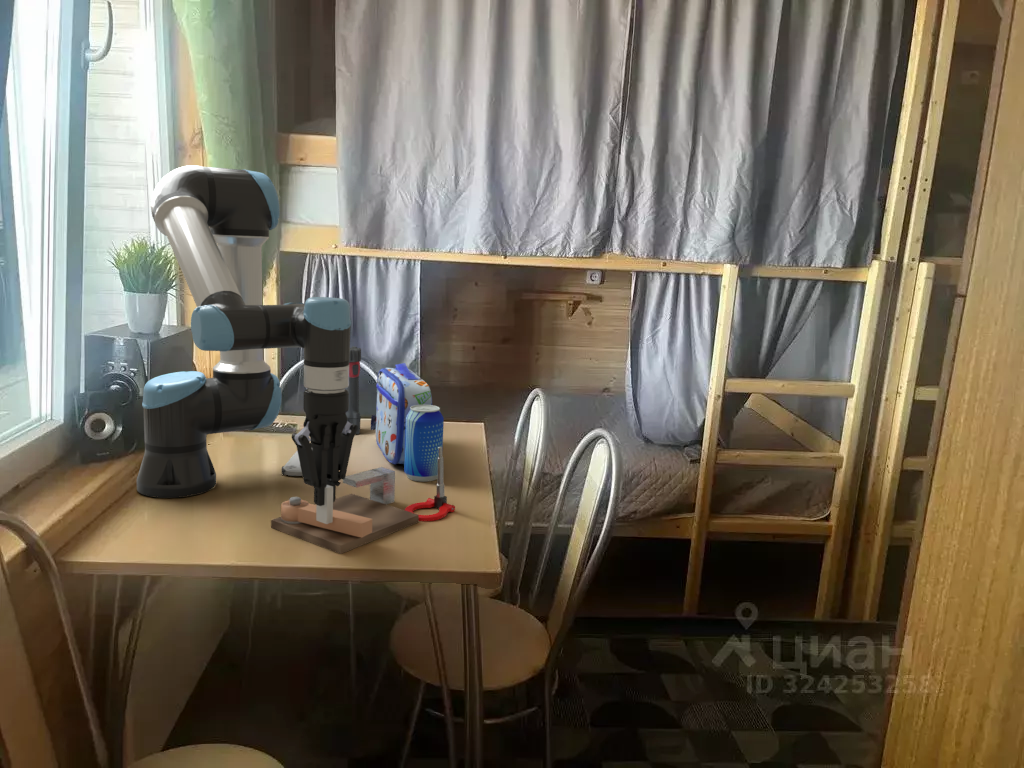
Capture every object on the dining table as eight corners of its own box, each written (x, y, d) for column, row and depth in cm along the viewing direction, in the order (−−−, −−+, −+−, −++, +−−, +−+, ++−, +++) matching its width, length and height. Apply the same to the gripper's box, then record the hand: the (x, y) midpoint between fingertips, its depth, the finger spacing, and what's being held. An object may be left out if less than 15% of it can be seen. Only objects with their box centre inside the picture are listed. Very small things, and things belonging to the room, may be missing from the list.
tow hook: (427, 527, 149) (459, 512, 157) (426, 462, 147) (459, 450, 154) (395, 516, 154) (427, 502, 162) (394, 453, 151) (427, 442, 159)
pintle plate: (271, 527, 144) (271, 517, 143) (351, 500, 160) (351, 491, 160) (340, 553, 134) (340, 543, 134) (418, 522, 150) (418, 512, 150)
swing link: (275, 518, 143) (275, 499, 142) (293, 510, 147) (293, 492, 147) (358, 539, 135) (358, 520, 135) (375, 530, 140) (375, 512, 139)
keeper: (355, 513, 153) (356, 481, 152) (342, 508, 155) (343, 476, 154) (394, 502, 161) (395, 471, 159) (381, 497, 163) (381, 466, 162)
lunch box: (367, 441, 204) (368, 358, 200) (406, 439, 208) (408, 357, 204) (391, 473, 179) (393, 378, 175) (435, 470, 183) (438, 377, 179)
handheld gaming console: (325, 468, 173) (278, 466, 172) (325, 480, 173) (278, 478, 173) (343, 440, 195) (302, 439, 195) (343, 451, 196) (302, 449, 195)
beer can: (425, 469, 184) (428, 402, 181) (449, 478, 178) (451, 409, 175) (396, 475, 178) (398, 406, 175) (419, 485, 172) (422, 413, 169)
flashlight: (333, 427, 217) (333, 344, 213) (361, 428, 218) (363, 345, 213) (329, 434, 209) (330, 349, 205) (359, 435, 210) (360, 350, 206)
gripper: (310, 397, 127) (309, 536, 131) (369, 388, 137) (366, 517, 141) (281, 390, 131) (280, 525, 135) (340, 381, 141) (338, 507, 145)
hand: (324, 521), depth 138 cm, fingers closed
